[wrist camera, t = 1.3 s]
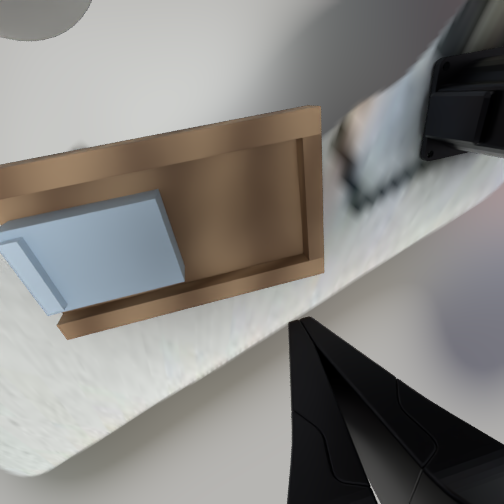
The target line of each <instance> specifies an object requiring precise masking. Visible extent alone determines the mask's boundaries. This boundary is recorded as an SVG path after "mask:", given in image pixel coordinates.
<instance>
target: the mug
mask: <svg viewBox="0 0 504 504" xmlns="http://www.w3.org/2000/svg"><path fill="white" fill-rule="evenodd" d="M91 1H92V0H0V37H2V38H8V39H12V40H18V41H38V40H45V39H48V38H52V37H56V36H58V35H60V34H62V33H64V32H66V31H67V30H69V29H70V28H71V27H73V26H74V25H75V24H76V23H77V22H78V21H79V20H80V19H81V18H82V17H83V15H84V14H85V12H86V11H87V9H88V8H89V6H90V3H91Z"/></svg>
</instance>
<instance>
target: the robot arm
mask: <svg viewBox="0 0 504 504" xmlns="http://www.w3.org/2000/svg"><path fill="white" fill-rule="evenodd" d="M444 64H445V67H444V69H443V65H444ZM429 151H430V153H429ZM467 152H473V153H479V154H484V155H489V156H495V157H500V158H504V47H498V48H493V49H488V50H482V51H477V52H471V53H466V54H460V55H455V56H450V57H444V58H441V59H440V60H438V61H437V63H436V65H435V68H434V74H433V80H432V87H431V93H430V99H429V105H428V112H427V118H426V124H425V130H424V136H423V143H422V149H421V159H422V160H425V161H431V160H436V159H440V158H445V157H449V156H454V155H458V154H462V153H467ZM428 153H429V155H428ZM427 155H428V156H427ZM288 331H289V359H290V386H291V411H292V413H291V418H292V449H291V465H290V476H289V487H288V498H287V504H378V503H377V501H376V498H375V496H374V493H373V491H372V489H371V488H370V483H371V485H372V487H373V489H374V491H375V493H376V495H377V497H378V499H379V501H380V503H381V504H504V444H502V443H500V442H498V441H497V440H495V439H493V438H492V437H490V436H488V435H487V434H485V433H483V432H482V431H480V430H478V429H477V428H475V427H473V426H471V425H470V424H468V423H466V422H465V421H463V420H461V419H460V418H458V417H456V416H455V415H453V414H451V413H449V412H448V411H446V410H445V409H443V408H441V407H440V406H438V405H437V404H435V403H433V402H432V401H430V400H428V399H427V398H425V397H424V396H422V395H421V394H419V393H418V392H416V391H415V390H414V389H412V388H411V387H409V386H408V385H406V384H405V383H403V382H402V381H401V380H399V379H396V377H395V376H394V375H392V374H391V373H389V372H388V371H387V370H385V369H384V368H382V367H381V366H380V365H378V364H377V363H375V362H374V361H372V360H371V359H370V358H368V357H367V356H366V355H364V354H363V353H361V352H360V351H358V350H357V349H356V348H354V347H353V346H351V345H350V344H349V343H347V342H346V341H344V340H343V339H342V338H340V337H339V336H337V335H336V334H335V333H333V332H332V331H330V330H329V329H328V328H326V327H325V326H323V325H322V324H321V323H319V322H318V321H316V320H315V319H313V318H312V317H305V318H302V319H300V320H294V321H291V322H289V323H288ZM368 480H369V481H370V483H369V481H368Z"/></svg>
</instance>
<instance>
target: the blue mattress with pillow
mask: <svg viewBox="0 0 504 504" xmlns="http://www.w3.org/2000/svg"><path fill="white" fill-rule="evenodd" d="M0 253H1V254H2V255H3V257H4V258H5V259H6V261H7V262H8V263H9V265H10V266H11V267H12V269H13V270H14V271H15V273H16V274H17V275H18V277H19V278H20V280H21V281H22V282H23V284H24V285H25V286H26V288H27V289H28V290H29V292H30V293H31V294H32V296H33V297H34V298H35V300H36V301H37V302H38V304H39V305H40V306H41V308H42V309H43V310H44V312H45V313H46V314H47V316H49V315H53V314H57V313H61V312H65V311H69V310H73V309H77V308H81V307H85V306H89V305H93V304H97V303H101V302H105V301H109V300H113V299H117V298H121V297H125V296H129V295H133V294H137V293H141V292H145V291H149V290H153V289H157V288H161V287H165V286H169V285H173V284H177V283H181V282H185V265H184V262H183V260H182V257H181V254H180V251H179V248H178V245H177V242H176V239H175V236H174V233H173V230H172V227H171V225H170V222H169V219H168V216H167V213H166V210H165V207H164V204H163V201H162V198H161V195H160V192H159V190H158V189H155V190H151V191H146V192H141V193H137V194H132V195H127V196H123V197H118V198H113V199H109V200H104V201H99V202H95V203H90V204H85V205H80V206H76V207H71V208H66V209H62V210H57V211H52V212H48V213H43V214H38V215H34V216H29V217H24V218H20V219H15V220H10V221H7V222H6V223H4V224H3V225H2V226H0Z"/></svg>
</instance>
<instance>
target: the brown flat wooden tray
mask: <svg viewBox="0 0 504 504" xmlns="http://www.w3.org/2000/svg"><path fill="white" fill-rule="evenodd" d="M155 189H158V190H159V192H160V195H161V198H162V201H163V204H164V207H165V210H166V213H167V216H168V219H169V222H170V225H171V227H172V230H173V233H174V236H175V239H176V242H177V245H178V248H179V251H180V254H181V257H182V260H183V262H184V265H185V282H181V283H177V284H173V285H169V286H165V287H161V288H157V289H153V290H149V291H145V292H141V293H137V294H133V295H129V296H125V297H121V298H117V299H113V300H109V301H105V302H101V303H97V304H93V305H89V306H85V307H81V308H77V309H73V310H69V311H65V312H62V313H63V315H62V317H61V319H60V321H59V322H58V324H57V327H58V328H59V329H60V331H61V332H62V333H63V335H64V336H65V337H66V339H67V340H69V339H73V338H77V337H81V336H84V335H88V334H92V333H96V332H100V331H104V330H107V329H111V328H115V327H119V326H123V325H127V324H130V323H134V322H138V321H142V320H146V319H149V318H153V317H157V316H161V315H165V314H169V313H172V312H176V311H180V310H184V309H188V308H191V307H195V306H199V305H203V304H207V303H211V302H214V301H218V300H222V299H226V298H230V297H234V296H237V295H241V294H245V293H249V292H253V291H256V290H260V289H264V288H268V287H272V286H276V285H279V284H283V283H287V282H291V281H295V280H298V279H302V278H306V277H310V276H314V275H318V274H321V273H324V236H323V188H322V139H321V106H310V105H307V106H302V107H297V108H292V109H286V110H281V111H276V112H271V113H266V114H261V115H255V116H250V117H245V118H240V119H235V120H229V121H224V122H219V123H214V124H209V125H203V126H198V127H193V128H188V129H183V130H177V131H172V132H167V133H162V134H157V135H152V136H146V137H141V138H136V139H131V140H126V141H120V142H115V143H110V144H105V145H100V146H95V147H89V148H84V149H79V150H74V151H69V152H63V153H58V154H53V155H48V156H43V157H38V158H32V159H27V160H22V161H17V162H12V163H6V164H1V165H0V225H1V226H2V225H3V224H4V223H6V222H7V221H10V220H15V219H20V218H24V217H29V216H34V215H38V214H43V213H48V212H52V211H57V210H62V209H66V208H71V207H76V206H80V205H85V204H90V203H95V202H99V201H104V200H109V199H113V198H118V197H123V196H127V195H132V194H137V193H141V192H146V191H151V190H155Z"/></svg>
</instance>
